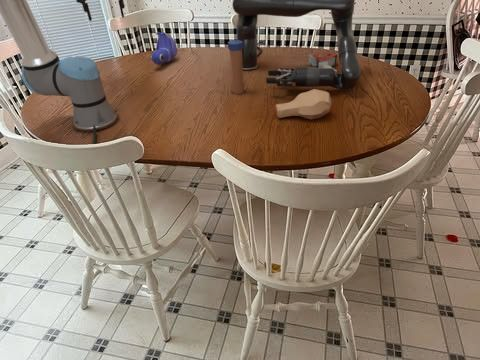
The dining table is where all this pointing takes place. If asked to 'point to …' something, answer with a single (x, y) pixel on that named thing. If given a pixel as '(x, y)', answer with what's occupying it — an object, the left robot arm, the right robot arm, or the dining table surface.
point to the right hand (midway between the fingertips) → (267, 76)
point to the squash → (306, 105)
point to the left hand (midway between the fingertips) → (107, 18)
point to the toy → (164, 49)
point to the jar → (236, 71)
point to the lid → (235, 45)
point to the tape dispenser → (323, 60)
